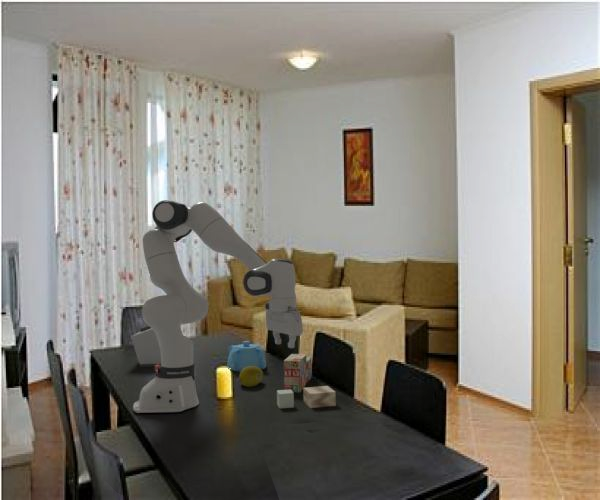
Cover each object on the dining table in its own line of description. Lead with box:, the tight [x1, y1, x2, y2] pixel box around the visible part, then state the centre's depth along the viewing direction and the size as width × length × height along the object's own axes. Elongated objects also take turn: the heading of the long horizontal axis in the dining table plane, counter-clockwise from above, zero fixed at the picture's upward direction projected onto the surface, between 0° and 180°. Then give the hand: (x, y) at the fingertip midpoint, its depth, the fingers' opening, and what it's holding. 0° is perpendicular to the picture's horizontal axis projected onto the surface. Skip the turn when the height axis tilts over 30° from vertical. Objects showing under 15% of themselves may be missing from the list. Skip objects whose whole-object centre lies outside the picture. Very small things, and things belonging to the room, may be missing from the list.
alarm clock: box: [130, 324, 161, 368], centre depth 277 cm, size 20×16×20 cm
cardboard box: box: [283, 353, 313, 393], centre depth 238 cm, size 21×6×12 cm, turn 167°
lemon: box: [238, 366, 264, 388], centre depth 239 cm, size 11×8×8 cm
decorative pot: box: [226, 340, 267, 373], centre depth 263 cm, size 16×16×14 cm
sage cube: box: [276, 389, 295, 409], centre depth 211 cm, size 5×5×5 cm
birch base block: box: [302, 385, 337, 409], centre depth 213 cm, size 9×9×5 cm
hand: (284, 345), depth 210 cm, fingers open, 8 cm apart
